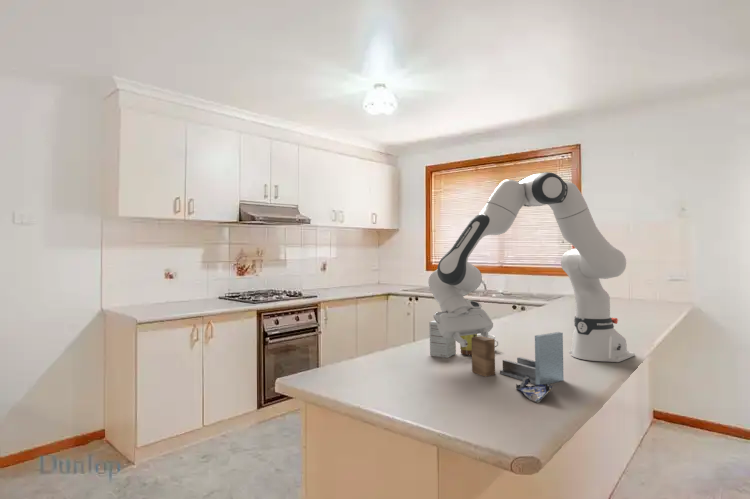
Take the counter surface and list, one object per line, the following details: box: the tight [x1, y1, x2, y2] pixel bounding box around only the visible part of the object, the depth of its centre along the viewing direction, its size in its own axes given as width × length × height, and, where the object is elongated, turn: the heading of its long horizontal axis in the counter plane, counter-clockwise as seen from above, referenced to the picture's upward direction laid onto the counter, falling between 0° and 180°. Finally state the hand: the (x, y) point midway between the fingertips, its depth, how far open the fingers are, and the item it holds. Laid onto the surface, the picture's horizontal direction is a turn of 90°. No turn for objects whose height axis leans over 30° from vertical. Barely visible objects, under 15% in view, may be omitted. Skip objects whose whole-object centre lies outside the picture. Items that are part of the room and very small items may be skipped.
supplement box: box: [428, 319, 457, 359], centre depth 169 cm, size 7×7×13 cm
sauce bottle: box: [459, 300, 478, 356], centre depth 169 cm, size 7×6×20 cm
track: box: [499, 331, 565, 385], centre depth 138 cm, size 10×16×14 cm, turn 29°
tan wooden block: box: [471, 336, 496, 378], centre depth 143 cm, size 4×6×11 cm, turn 29°
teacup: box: [477, 333, 499, 348], centre depth 175 cm, size 10×8×5 cm
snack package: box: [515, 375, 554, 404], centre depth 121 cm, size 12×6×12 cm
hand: (476, 344), depth 145 cm, fingers open, 8 cm apart
